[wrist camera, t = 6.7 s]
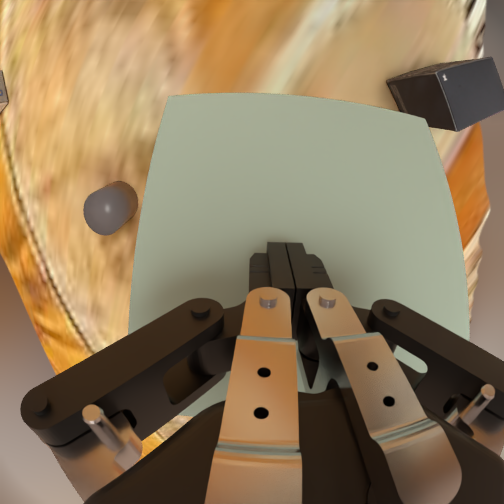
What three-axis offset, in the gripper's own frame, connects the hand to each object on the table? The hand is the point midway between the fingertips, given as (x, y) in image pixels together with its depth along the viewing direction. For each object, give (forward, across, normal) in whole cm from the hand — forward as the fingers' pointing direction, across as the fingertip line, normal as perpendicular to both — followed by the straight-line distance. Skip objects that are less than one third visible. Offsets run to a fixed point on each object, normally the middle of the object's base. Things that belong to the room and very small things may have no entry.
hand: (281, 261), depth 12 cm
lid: (+2, -2, 0) cm, 3 cm away
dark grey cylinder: (+21, +18, +3) cm, 28 cm away
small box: (+22, -20, -13) cm, 32 cm away
